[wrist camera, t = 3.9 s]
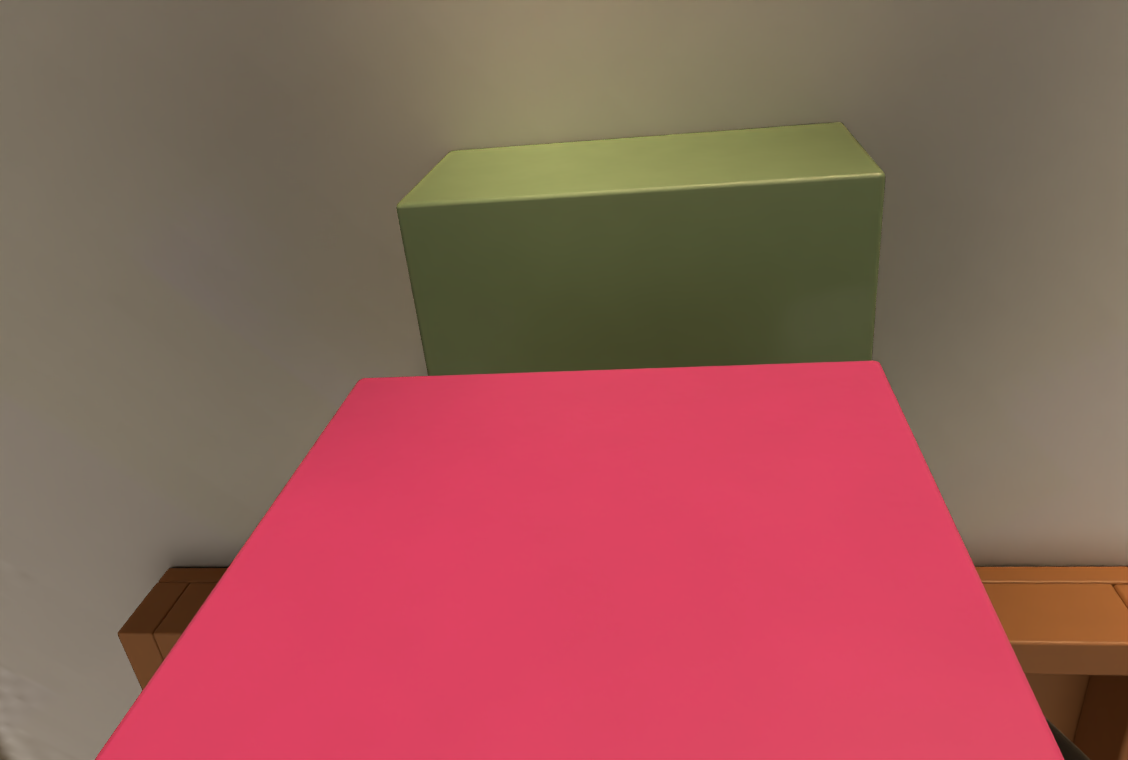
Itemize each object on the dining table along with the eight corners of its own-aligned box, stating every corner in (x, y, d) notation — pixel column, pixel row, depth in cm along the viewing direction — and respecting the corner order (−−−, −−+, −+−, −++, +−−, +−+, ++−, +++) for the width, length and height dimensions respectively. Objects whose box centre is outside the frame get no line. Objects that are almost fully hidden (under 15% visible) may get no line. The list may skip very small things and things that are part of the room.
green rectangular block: (843, 120, 13) (886, 172, 11) (825, 462, 16) (856, 573, 14) (448, 149, 14) (394, 205, 12) (498, 468, 17) (464, 574, 15)
